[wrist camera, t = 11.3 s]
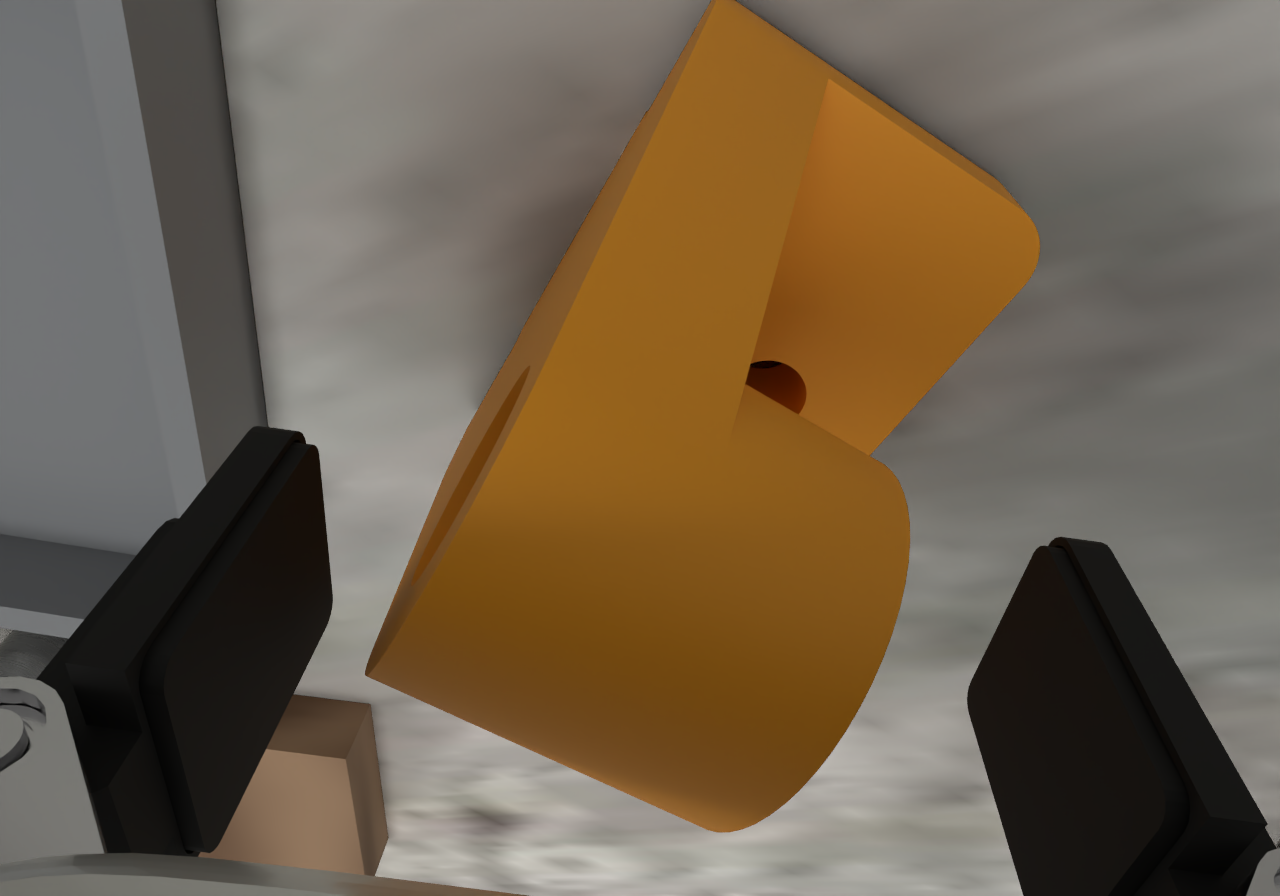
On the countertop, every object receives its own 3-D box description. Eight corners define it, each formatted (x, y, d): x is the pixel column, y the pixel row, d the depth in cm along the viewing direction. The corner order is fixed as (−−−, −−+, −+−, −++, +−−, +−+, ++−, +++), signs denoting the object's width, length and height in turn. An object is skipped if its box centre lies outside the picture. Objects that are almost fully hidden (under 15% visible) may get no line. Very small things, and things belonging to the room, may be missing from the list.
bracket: (725, 542, 23) (716, 1052, 13) (476, 409, 22) (251, 871, 12) (1024, 193, 18) (1394, 610, 8) (718, -17, 16) (688, 163, 6)
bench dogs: (82, 626, 27) (-38, 764, 23) (128, 779, 31) (33, 920, 27) (4, 614, 27) (-130, 749, 23) (60, 768, 31) (-45, 907, 27)
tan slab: (374, 693, 28) (345, 759, 26) (391, 827, 32) (367, 894, 30) (98, 659, 29) (47, 721, 27) (148, 795, 32) (107, 859, 30)
